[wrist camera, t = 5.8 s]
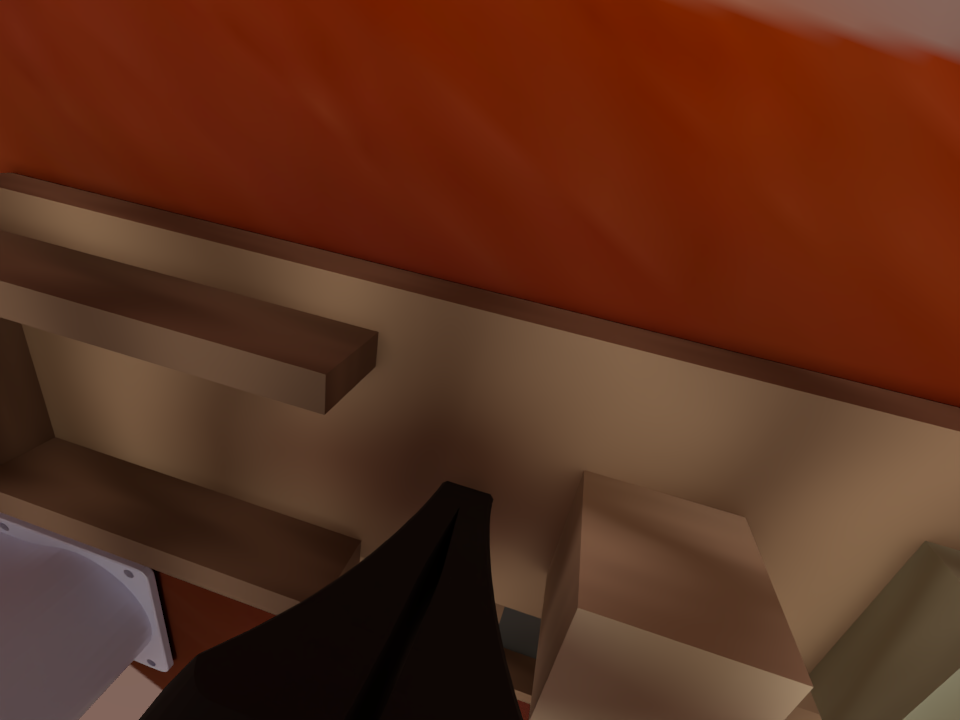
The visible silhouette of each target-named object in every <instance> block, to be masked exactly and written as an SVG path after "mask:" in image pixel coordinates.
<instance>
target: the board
mask: <svg viewBox="0 0 960 720" xmlns="http://www.w3.org/2000/svg"><path fill="white" fill-rule="evenodd" d="M0 230H3V231H6V232H10V233H14V234H17V235H21V236H25V237H29V238H32V239H36V240H40V241H43V242H47V243H51V244H54V245H58V246H62V247H66V248H69V249H73V250H77V251H80V252H84V253H88V254H92V255H95V256H99V257H103V258H106V259H110V260H114V261H117V262H121V263H125V264H129V265H132V266H136V267H140V268H143V269H147V270H151V271H155V272H158V273H162V274H166V275H169V276H173V277H177V278H180V279H184V280H188V281H192V282H195V283H199V284H203V285H206V286H210V287H214V288H218V289H221V290H225V291H229V292H232V293H236V294H240V295H243V296H247V297H251V298H255V299H258V300H262V301H266V302H269V303H273V304H277V305H281V306H284V307H288V308H292V309H295V310H299V311H303V312H306V313H310V314H314V315H318V316H321V317H325V318H329V319H332V320H336V321H340V322H344V323H347V324H351V325H355V326H358V327H362V328H366V329H369V330H373V331H377V332H379V334H378V346H377V358H376V367H375V368H374V369H373V370H372V371H371V372H370V373H369V374H367V375H366V376H365V377H364V378H363V379H362V380H361V381H360V382H359V383H358V384H357V385H356V386H355V387H354V388H353V389H352V390H351V391H350V392H348V393H347V394H346V395H345V396H344V397H343V398H342V399H341V400H340V401H339V402H338V403H337V404H336V405H335V406H334V407H333V408H332V409H331V410H329V411H328V412H327V413H326V414H325V415H323V414H319V413H316V412H313V411H309V410H306V409H303V408H299V407H296V406H293V405H289V404H286V403H283V402H279V401H276V400H273V399H270V398H266V397H263V396H260V395H256V394H253V393H250V392H246V391H243V390H240V389H236V388H233V387H230V386H226V385H223V384H220V383H216V382H213V381H210V380H207V379H203V378H200V377H197V376H193V375H190V374H187V373H183V372H180V371H177V370H173V369H170V368H167V367H163V366H160V365H157V364H154V363H150V362H147V361H144V360H140V359H137V358H134V357H130V356H127V355H124V354H120V353H117V352H114V351H110V350H107V349H104V348H100V347H97V346H94V345H91V344H87V343H84V342H81V341H77V340H74V339H71V338H67V337H64V336H61V335H57V334H54V333H51V332H47V331H44V330H41V329H38V328H34V327H31V326H28V325H24V324H22V328H23V331H24V334H25V338H26V341H27V344H28V348H29V351H30V354H31V358H32V361H33V364H34V368H35V371H36V374H37V378H38V381H39V384H40V388H41V391H42V394H43V398H44V401H45V404H46V408H47V411H48V414H49V418H50V421H51V424H52V427H53V431H54V434H55V437H57V438H60V439H63V440H66V441H68V442H71V443H74V444H77V445H80V446H83V447H86V448H89V449H92V450H95V451H98V452H101V453H104V454H107V455H110V456H113V457H116V458H119V459H122V460H125V461H128V462H130V463H133V464H136V465H139V466H142V467H145V468H148V469H151V470H154V471H157V472H160V473H163V474H166V475H169V476H172V477H175V478H178V479H181V480H184V481H187V482H190V483H193V484H195V485H198V486H201V487H204V488H207V489H210V490H213V491H216V492H219V493H222V494H225V495H228V496H231V497H234V498H237V499H240V500H243V501H246V502H249V503H252V504H255V505H257V506H260V507H263V508H266V509H269V510H272V511H275V512H278V513H281V514H284V515H287V516H290V517H293V518H296V519H299V520H302V521H305V522H308V523H311V524H314V525H317V526H319V527H322V528H325V529H328V530H331V531H334V532H337V533H340V534H343V535H346V536H349V537H352V538H355V539H358V540H361V550H360V562H361V561H362V560H363V559H365V558H366V557H367V556H368V555H370V554H371V553H372V552H373V551H375V550H376V549H377V548H378V547H379V546H380V545H382V544H383V543H384V542H385V541H386V540H388V539H389V538H390V537H391V536H392V535H393V534H395V533H396V532H397V531H398V530H399V529H400V528H401V527H402V526H403V525H404V524H405V523H406V522H407V521H408V520H409V519H410V518H411V517H412V516H413V515H415V514H416V513H417V512H418V510H419V509H420V508H421V507H422V506H423V505H424V504H425V503H426V502H427V501H428V500H429V499H430V498H431V496H432V495H433V494H434V493H435V492H436V491H437V489H438V488H439V487H440V485H441V484H442V483H443V482H446V481H449V482H453V483H456V484H459V485H462V486H465V487H469V488H472V489H475V490H478V491H481V492H485V493H488V494H491V496H492V497H493V503H492V508H491V515H490V558H491V572H492V582H493V590H494V598H495V605H496V611H497V617H498V623H499V628H500V633H501V638H502V643H503V647H504V652H505V656H506V661H507V665H508V668H509V672H510V676H511V679H512V683H513V687H514V690H515V694H516V698H517V699H518V700H521V701H523V702H526V703H529V704H531V697H532V689H533V681H534V673H535V665H536V657H537V649H538V641H539V633H540V625H541V617H542V609H543V601H544V593H545V585H546V577H547V572H548V570H549V567H550V564H551V561H552V558H553V556H554V553H555V550H556V547H557V545H558V542H559V539H560V536H561V533H562V531H563V528H564V525H565V522H566V520H567V517H568V514H569V511H570V508H571V506H572V503H573V500H574V497H575V495H576V492H577V489H578V486H579V483H580V481H581V478H582V475H583V472H584V470H586V471H589V472H593V473H596V474H600V475H603V476H606V477H610V478H613V479H617V480H620V481H623V482H627V483H630V484H633V485H637V486H640V487H644V488H647V489H650V490H654V491H657V492H661V493H664V494H667V495H671V496H674V497H677V498H681V499H684V500H688V501H691V502H694V503H698V504H701V505H705V506H708V507H711V508H715V509H718V510H722V511H725V512H728V513H732V514H735V515H738V516H742V517H745V518H746V520H747V523H748V525H749V528H750V530H751V533H752V535H753V538H754V540H755V543H756V545H757V548H758V550H759V553H760V555H761V558H762V560H763V563H764V565H765V568H766V570H767V573H768V575H769V577H770V580H771V582H772V585H773V587H774V590H775V592H776V595H777V597H778V600H779V602H780V605H781V607H782V610H783V612H784V615H785V617H786V620H787V622H788V625H789V627H790V630H791V632H792V635H793V637H794V640H795V642H796V645H797V647H798V650H799V652H800V654H801V657H802V659H803V662H804V664H805V667H806V669H807V672H808V674H809V677H810V679H811V682H812V684H813V689H812V690H811V691H810V692H809V693H808V694H807V695H806V696H805V697H804V699H803V700H802V701H801V702H800V703H799V704H798V705H797V706H796V707H795V709H794V710H793V711H792V712H791V713H790V714H789V715H788V716H787V717H786V719H785V720H960V408H958V407H954V406H950V405H946V404H942V403H938V402H934V401H930V400H926V399H922V398H918V397H914V396H910V395H906V394H902V393H898V392H894V391H890V390H886V389H882V388H878V387H874V386H870V385H865V384H861V383H857V382H853V381H849V380H845V379H841V378H837V377H833V376H829V375H825V374H821V373H817V372H813V371H809V370H805V369H801V368H797V367H793V366H789V365H785V364H781V363H777V362H773V361H769V360H765V359H761V358H757V357H753V356H749V355H744V354H740V353H736V352H732V351H728V350H724V349H720V348H716V347H712V346H708V345H704V344H700V343H696V342H692V341H688V340H684V339H680V338H676V337H672V336H668V335H664V334H660V333H656V332H652V331H648V330H644V329H640V328H636V327H632V326H628V325H623V324H619V323H615V322H611V321H607V320H603V319H599V318H595V317H591V316H587V315H583V314H579V313H575V312H571V311H567V310H563V309H559V308H555V307H551V306H547V305H543V304H539V303H535V302H531V301H527V300H523V299H519V298H515V297H511V296H507V295H502V294H498V293H494V292H490V291H486V290H482V289H478V288H474V287H470V286H466V285H462V284H458V283H454V282H450V281H446V280H442V279H438V278H434V277H430V276H426V275H422V274H418V273H414V272H410V271H406V270H402V269H398V268H394V267H390V266H386V265H382V264H377V263H373V262H369V261H365V260H361V259H357V258H353V257H349V256H345V255H341V254H337V253H333V252H329V251H325V250H321V249H317V248H313V247H309V246H305V245H301V244H297V243H293V242H289V241H285V240H281V239H277V238H273V237H269V236H265V235H261V234H256V233H252V232H248V231H244V230H240V229H236V228H232V227H228V226H224V225H220V224H216V223H212V222H208V221H204V220H200V219H196V218H192V217H188V216H184V215H180V214H176V213H172V212H168V211H164V210H160V209H156V208H152V207H148V206H144V205H140V204H135V203H131V202H127V201H123V200H119V199H115V198H111V197H107V196H103V195H99V194H95V193H91V192H87V191H83V190H79V189H75V188H71V187H67V186H63V185H59V184H55V183H51V182H47V181H43V180H39V179H35V178H31V177H27V176H23V175H19V174H14V173H0Z"/></svg>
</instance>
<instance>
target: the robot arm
mask: <svg viewBox="0 0 960 720" xmlns="http://www.w3.org/2000/svg"><path fill="white" fill-rule="evenodd" d="M492 503H493V497H492V496H491V494H488V493H485V492H481V491H478V490H475V489H472V488H469V487H465V486H462V485H459V484H456V483H453V482H449V481H446V482H443V483H442V484H441V485H440V487H439V488H438V489H437V491H436V492H435V493H434V494H433V495H432V496H431V498H430V499H429V500H428V501H427V502H426V503H425V504H424V505H423V506H422V507H421V508H420V509H419V510H418V512H417V513H416V514H415V515H413V516H412V517H411V518H410V519H409V520H408V521H407V522H406V523H405V524H404V525H403V526H402V527H401V528H400V529H399V530H398V531H397V532H396V533H395V534H393V535H392V536H391V537H390V538H389V539H388V540H386V541H385V542H384V543H383V544H382V545H380V546H379V547H378V548H377V549H376V550H375V551H373V552H372V553H371V554H370V555H368V556H367V557H366V558H365V559H363V560H362V561H361V562H359V563H358V564H357V565H356V566H354V567H353V568H351V569H350V570H349V571H347V572H346V573H344V574H343V575H342V576H340V577H339V578H337V579H336V580H334V581H333V582H331V583H330V584H328V585H327V586H325V587H324V588H322V589H321V590H319V591H318V592H316V593H315V594H313V595H311V596H310V597H308V598H307V599H305V600H303V601H302V602H300V603H298V604H296V605H295V606H293V607H291V608H289V609H287V610H286V611H284V612H282V613H280V614H278V615H277V616H275V617H273V618H271V619H269V620H268V621H266V622H264V623H262V624H260V625H258V626H256V627H255V628H253V629H251V630H249V631H247V632H244V633H242V634H240V635H238V636H236V637H234V638H232V639H230V640H227V641H225V642H223V643H221V644H219V645H217V646H215V647H213V648H210V649H208V650H206V651H204V652H202V653H200V654H198V655H197V656H196V657H195V658H194V659H193V660H191V661H190V662H189V663H188V664H187V665H186V666H185V667H184V668H183V669H182V671H181V672H180V673H179V674H178V675H177V676H176V677H175V678H174V679H173V680H172V681H171V682H170V683H169V684H168V685H167V686H166V687H165V688H164V689H163V691H162V692H161V693H160V694H159V696H158V697H157V698H156V699H155V700H154V702H153V703H152V704H151V705H150V707H149V708H148V709H147V710H146V712H145V713H144V714H143V715H142V717H141V718H140V719H139V720H523V718H522V715H521V712H520V709H519V705H518V702H517V698H516V694H515V690H514V687H513V683H512V679H511V676H510V672H509V668H508V665H507V661H506V656H505V652H504V647H503V643H502V638H501V633H500V628H499V623H498V617H497V611H496V605H495V598H494V590H493V582H492V572H491V558H490V515H491V508H492ZM133 660H135V661H137V662H140V663H142V664H144V665H147V666H149V667H152V668H154V669H157V670H159V671H162V672H166V671H168V670H169V669H170V668H171V666H172V665H173V659H172V654H171V649H170V645H169V640H168V635H167V631H166V626H165V622H164V617H163V612H162V608H161V603H160V598H159V594H158V589H157V584H156V580H155V575H154V572H153V570H152V569H151V568H149V567H146V566H143V565H141V564H138V563H135V562H133V561H130V560H127V559H124V558H122V557H119V556H116V555H114V554H111V553H108V552H106V551H103V550H100V549H98V548H95V547H92V546H90V545H87V544H84V543H82V542H79V541H76V540H74V539H71V538H68V537H65V536H63V535H60V534H57V533H55V532H52V531H49V530H47V529H44V528H41V527H39V526H36V525H33V524H31V523H28V522H25V521H23V520H20V519H17V518H15V517H12V516H9V515H6V514H4V513H1V512H0V720H79V719H80V718H81V717H82V715H83V714H84V713H85V712H86V711H87V710H88V709H89V708H90V707H91V706H92V704H94V703H95V701H96V700H97V699H98V698H99V697H100V696H101V695H102V694H103V693H104V692H105V691H106V689H107V688H108V687H109V686H110V685H111V684H112V683H113V682H114V681H115V680H116V679H117V678H118V676H119V675H120V674H121V673H122V672H123V671H124V670H125V669H126V668H127V667H128V666H129V665H130V663H131V662H132V661H133Z"/></svg>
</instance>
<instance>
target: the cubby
mask: <svg viewBox="0 0 960 720" xmlns="http://www.w3.org/2000/svg"><path fill="white" fill-rule="evenodd" d="M22 324H24V325H28V326H31V327H34V328H38V329H41V330H44V331H47V332H51V333H54V334H57V335H61V336H64V337H67V338H71V339H74V340H77V341H81V342H84V343H87V344H91V345H94V346H97V347H100V348H104V349H107V350H110V351H114V352H117V353H120V354H124V355H127V356H130V357H134V358H137V359H140V360H144V361H147V362H150V363H154V364H157V365H160V366H163V367H167V368H170V369H173V370H177V371H180V372H183V373H187V374H190V375H193V376H197V377H200V378H203V379H207V380H210V381H213V382H216V383H220V384H223V385H226V386H230V387H233V388H236V389H240V390H243V391H246V392H250V393H253V394H256V395H260V396H263V397H266V398H270V399H273V400H276V401H279V402H283V403H286V404H289V405H293V406H296V407H299V408H303V409H306V410H309V411H313V412H316V413H319V414H323V415H325V414H326V413H327V412H328V411H329V410H331V409H332V408H333V407H334V406H335V405H336V404H337V403H338V402H339V401H340V400H341V399H342V398H343V397H344V396H345V395H346V394H347V393H348V392H350V391H351V390H352V389H353V388H354V387H355V386H356V385H357V384H358V383H359V382H360V381H361V380H362V379H363V378H364V377H365V376H366V375H367V374H369V373H370V372H371V371H372V370H373V369H374V368H375V367H376V358H377V346H378V334H379V332H377V331H373V330H369V329H366V328H362V327H358V326H355V325H351V324H347V323H344V322H340V321H336V320H332V319H329V318H325V317H321V316H318V315H314V314H310V313H306V312H303V311H299V310H295V309H292V308H288V307H284V306H281V305H277V304H273V303H269V302H266V301H262V300H258V299H255V298H251V297H247V296H243V295H240V294H236V293H232V292H229V291H225V290H221V289H218V288H214V287H210V286H206V285H203V284H199V283H195V282H192V281H188V280H184V279H180V278H177V277H173V276H169V275H166V274H162V273H158V272H155V271H151V270H147V269H143V268H140V267H136V266H132V265H129V264H125V263H121V262H117V261H114V260H110V259H106V258H103V257H99V256H95V255H92V254H88V253H84V252H80V251H77V250H73V249H69V248H66V247H62V246H58V245H54V244H51V243H47V242H43V241H40V240H36V239H32V238H29V237H25V236H21V235H17V234H14V233H10V232H6V231H3V230H0V512H1V513H4V514H6V515H9V516H12V517H15V518H17V519H20V520H23V521H25V522H28V523H31V524H33V525H36V526H39V527H41V528H44V529H47V530H49V531H52V532H55V533H57V534H60V535H63V536H65V537H68V538H71V539H74V540H76V541H79V542H82V543H84V544H87V545H90V546H92V547H95V548H98V549H100V550H103V551H106V552H108V553H111V554H114V555H116V556H119V557H122V558H124V559H127V560H130V561H133V562H135V563H138V564H141V565H143V566H146V567H149V568H151V569H154V570H157V571H159V572H162V573H165V574H167V575H170V576H173V577H175V578H178V579H181V580H183V581H186V582H189V583H191V584H194V585H197V586H200V587H202V588H205V589H208V590H210V591H213V592H216V593H218V594H221V595H224V596H226V597H229V598H232V599H234V600H237V601H240V602H242V603H245V604H248V605H250V606H253V607H256V608H259V609H261V610H264V611H267V612H269V613H272V614H275V615H278V614H280V613H282V612H284V611H286V610H287V609H289V608H291V607H293V606H295V605H296V604H298V603H300V602H302V601H303V600H305V599H307V598H308V597H310V596H311V595H313V594H315V593H316V592H318V591H319V590H321V589H322V588H324V587H325V586H327V585H328V584H330V583H331V582H333V581H334V580H336V579H337V578H339V577H340V576H342V575H343V574H344V573H346V572H347V571H349V570H350V569H351V568H353V567H354V566H356V565H357V564H358V563H359V562H360V550H361V540H358V539H355V538H352V537H349V536H346V535H343V534H340V533H337V532H334V531H331V530H328V529H325V528H322V527H319V526H317V525H314V524H311V523H308V522H305V521H302V520H299V519H296V518H293V517H290V516H287V515H284V514H281V513H278V512H275V511H272V510H269V509H266V508H263V507H260V506H257V505H255V504H252V503H249V502H246V501H243V500H240V499H237V498H234V497H231V496H228V495H225V494H222V493H219V492H216V491H213V490H210V489H207V488H204V487H201V486H198V485H195V484H193V483H190V482H187V481H184V480H181V479H178V478H175V477H172V476H169V475H166V474H163V473H160V472H157V471H154V470H151V469H148V468H145V467H142V466H139V465H136V464H133V463H130V462H128V461H125V460H122V459H119V458H116V457H113V456H110V455H107V454H104V453H101V452H98V451H95V450H92V449H89V448H86V447H83V446H80V445H77V444H74V443H71V442H68V441H66V440H63V439H60V438H57V437H55V434H54V431H53V427H52V424H51V421H50V418H49V414H48V411H47V408H46V404H45V401H44V398H43V394H42V391H41V388H40V384H39V381H38V378H37V374H36V371H35V368H34V364H33V361H32V358H31V354H30V351H29V348H28V344H27V341H26V338H25V334H24V331H23V328H22Z"/></svg>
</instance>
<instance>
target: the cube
mask: <svg viewBox="0 0 960 720" xmlns="http://www.w3.org/2000/svg"><path fill="white" fill-rule="evenodd" d="M812 689H813V684H812V682H811V679H810V677H809V674H808V672H807V669H806V667H805V664H804V662H803V659H802V657H801V654H800V652H799V650H798V647H797V645H796V642H795V640H794V637H793V635H792V632H791V630H790V627H789V625H788V622H787V620H786V617H785V615H784V612H783V610H782V607H781V605H780V602H779V600H778V597H777V595H776V592H775V590H774V587H773V585H772V582H771V580H770V577H769V575H768V573H767V570H766V568H765V565H764V563H763V560H762V558H761V555H760V553H759V550H758V548H757V545H756V543H755V540H754V538H753V535H752V533H751V530H750V528H749V525H748V523H747V520H746V518H745V517H742V516H738V515H735V514H732V513H728V512H725V511H722V510H718V509H715V508H711V507H708V506H705V505H701V504H698V503H694V502H691V501H688V500H684V499H681V498H677V497H674V496H671V495H667V494H664V493H661V492H657V491H654V490H650V489H647V488H644V487H640V486H637V485H633V484H630V483H627V482H623V481H620V480H617V479H613V478H610V477H606V476H603V475H600V474H596V473H593V472H589V471H586V470H584V472H583V475H582V478H581V481H580V483H579V486H578V489H577V492H576V495H575V497H574V500H573V503H572V506H571V508H570V511H569V514H568V517H567V520H566V522H565V525H564V528H563V531H562V533H561V536H560V539H559V542H558V545H557V547H556V550H555V553H554V556H553V558H552V561H551V564H550V567H549V570H548V572H547V577H546V585H545V593H544V601H543V609H542V617H541V625H540V633H539V641H538V649H537V657H536V665H535V673H534V681H533V689H532V697H531V705H530V713H529V720H785V719H786V717H787V716H788V715H789V714H790V713H791V712H792V711H793V710H794V709H795V707H796V706H797V705H798V704H799V703H800V702H801V701H802V700H803V699H804V697H805V696H806V695H807V694H808V693H809V692H810V691H811V690H812Z"/></svg>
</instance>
